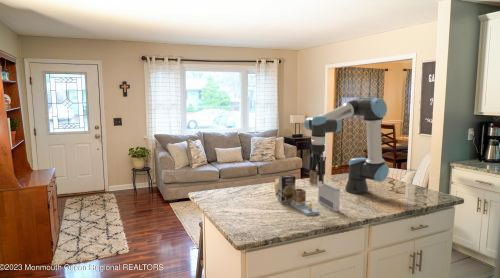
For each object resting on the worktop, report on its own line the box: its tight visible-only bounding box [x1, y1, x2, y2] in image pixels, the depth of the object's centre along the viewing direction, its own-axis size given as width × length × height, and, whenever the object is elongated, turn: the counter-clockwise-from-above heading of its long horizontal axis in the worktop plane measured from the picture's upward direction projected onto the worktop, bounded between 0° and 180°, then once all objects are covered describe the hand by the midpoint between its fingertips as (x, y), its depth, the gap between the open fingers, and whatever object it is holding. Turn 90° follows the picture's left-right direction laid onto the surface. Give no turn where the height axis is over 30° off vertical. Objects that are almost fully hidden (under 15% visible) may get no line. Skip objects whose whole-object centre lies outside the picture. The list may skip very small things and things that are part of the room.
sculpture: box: [273, 177, 279, 194], centre depth 225 cm, size 11×12×11 cm
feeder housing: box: [317, 181, 341, 212], centre depth 198 cm, size 3×18×13 cm, turn 19°
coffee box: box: [277, 174, 297, 204], centre depth 208 cm, size 9×6×16 cm
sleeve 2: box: [309, 169, 325, 188], centre depth 186 cm, size 6×6×8 cm
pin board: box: [289, 202, 320, 217], centre depth 194 cm, size 8×20×6 cm, turn 19°
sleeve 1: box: [293, 188, 307, 205], centre depth 199 cm, size 6×6×8 cm
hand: (316, 185), depth 187 cm, fingers closed on sleeve 2, 6 cm apart
